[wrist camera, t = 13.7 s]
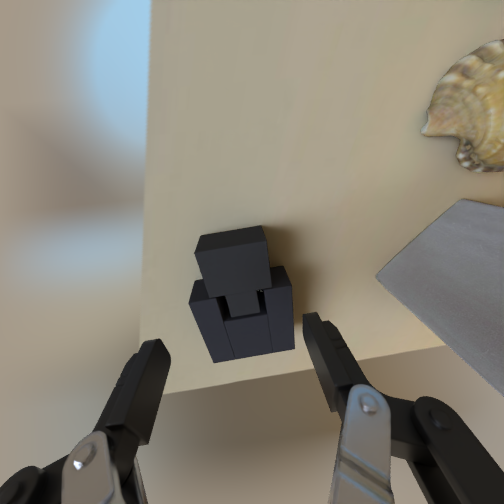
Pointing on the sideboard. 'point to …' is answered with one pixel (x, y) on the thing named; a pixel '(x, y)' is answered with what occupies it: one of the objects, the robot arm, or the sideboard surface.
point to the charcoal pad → (246, 321)
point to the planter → (458, 284)
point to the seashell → (472, 108)
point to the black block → (235, 267)
